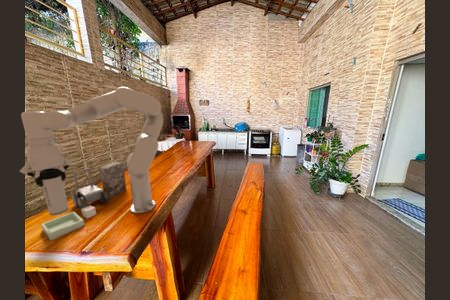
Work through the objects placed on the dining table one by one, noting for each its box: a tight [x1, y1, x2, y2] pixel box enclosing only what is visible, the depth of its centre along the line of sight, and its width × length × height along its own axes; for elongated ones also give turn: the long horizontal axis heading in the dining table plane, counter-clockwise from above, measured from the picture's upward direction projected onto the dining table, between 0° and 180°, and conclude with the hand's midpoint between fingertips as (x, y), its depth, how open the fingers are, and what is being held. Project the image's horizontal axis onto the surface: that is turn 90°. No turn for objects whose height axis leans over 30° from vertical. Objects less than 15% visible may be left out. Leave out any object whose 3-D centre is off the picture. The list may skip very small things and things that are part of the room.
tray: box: [40, 211, 86, 242], centre depth 78 cm, size 13×12×3 cm
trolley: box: [71, 168, 110, 211], centre depth 96 cm, size 17×12×20 cm
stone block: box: [98, 161, 127, 199], centre depth 109 cm, size 13×7×20 cm, turn 171°
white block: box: [80, 205, 97, 219], centre depth 88 cm, size 5×4×4 cm
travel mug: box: [39, 167, 70, 216], centre depth 74 cm, size 6×7×20 cm
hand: (52, 182), depth 73 cm, fingers closed on travel mug, 6 cm apart
